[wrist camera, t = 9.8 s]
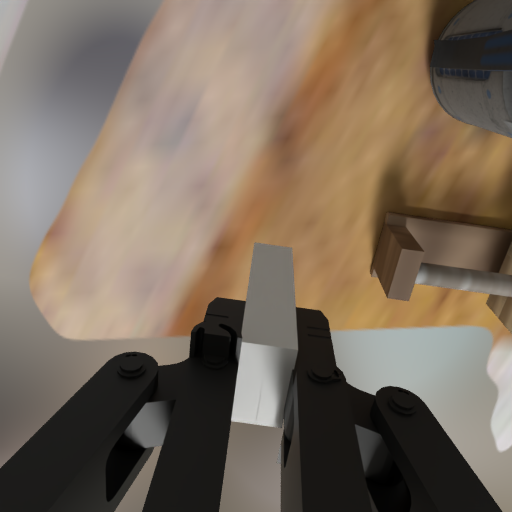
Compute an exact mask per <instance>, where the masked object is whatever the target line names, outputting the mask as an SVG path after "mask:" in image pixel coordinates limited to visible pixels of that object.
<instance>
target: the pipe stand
mask: <svg viewBox="0 0 512 512" xmlns="http://www.w3.org/2000/svg"><path fill="white" fill-rule="evenodd" d="M511 242H512V230H510V229H503V228H496V227H489V226H482V225H475V224H468V223H461V222H454V221H447V220H440V219H433V218H426V217H419V216H411V215H404V214H397V213H390V212H387V214H386V218H385V221H384V225H383V229H382V232H381V236H380V240H379V243H378V247H377V251H376V254H375V258H374V262H373V265H372V269H371V273H370V274H371V276H372V277H377V278H379V281H380V283H381V285H382V287H383V290H384V292H385V294H386V296H387V298H390V299H397V300H404V301H409V299H410V296H411V293H412V290H413V287H414V284H423V285H430V286H437V287H444V288H451V289H458V290H465V291H472V292H479V293H486V294H493V295H501V296H508V297H512V275H508V274H501V273H499V271H500V269H501V266H502V264H503V261H504V259H505V256H506V254H507V252H508V249H509V247H510V244H511Z"/></svg>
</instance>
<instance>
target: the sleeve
mask: <svg viewBox="0 0 512 512" xmlns="http://www.w3.org/2000/svg"><path fill="white" fill-rule="evenodd" d="M499 273H501V274H508V275H512V242H511V244H510V247H509V249H508V252H507V254H506V256H505V259H504V261H503V264H502V266H501V269H500V271H499ZM486 304H487V305H488V306H489V308H490V309H491V310H492V311H493V312H494V314H495V315H496V316H497V317H498V318H499V319H500V321H501V322H502V323H503V324H504V325H505V327H506V328H507V329H508V330H509V331H510V333H511V334H512V297H508V296H501V295H493V294H490V295H489V298H488V300H487V302H486Z"/></svg>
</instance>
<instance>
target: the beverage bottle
mask: <svg viewBox="0 0 512 512" xmlns="http://www.w3.org/2000/svg"><path fill="white" fill-rule="evenodd" d="M434 44H435V47H434V51H433V55H432V60H431V64H430V78H431V85H432V89H433V93H434V95H435V97H436V99H437V101H438V103H439V104H440V106H441V107H442V108H443V109H444V111H445V112H447V113H448V114H449V115H451V116H452V117H453V118H455V119H457V120H459V121H462V122H464V123H467V124H471V125H475V126H478V127H481V128H484V129H487V130H489V131H492V132H495V133H498V134H501V135H504V136H507V137H510V138H512V0H474V1H473V2H471V3H470V4H468V5H467V6H466V7H464V8H463V9H461V10H460V11H459V12H458V13H457V14H456V15H455V16H454V17H453V18H452V19H451V20H450V22H449V23H448V24H447V26H446V27H445V28H444V30H443V31H442V33H441V35H440V37H439V39H438V40H434Z"/></svg>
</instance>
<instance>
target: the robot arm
mask: <svg viewBox="0 0 512 512" xmlns="http://www.w3.org/2000/svg"><path fill="white" fill-rule="evenodd" d="M283 419H284V432H283V436H282V441H281V446H280V450H279V455H278V460H277V463H280V464H281V512H502V510H501V509H500V508H499V506H498V505H497V503H496V502H495V501H494V499H493V498H492V496H491V495H490V494H489V492H488V491H487V489H486V488H485V487H484V485H483V484H482V482H481V481H480V480H479V479H478V477H477V475H476V474H475V473H474V471H473V470H472V469H471V467H470V466H469V464H468V463H467V461H466V460H465V459H464V457H463V456H462V455H461V454H460V452H459V450H458V449H457V447H456V446H455V445H454V443H453V442H452V440H451V439H450V438H449V436H448V435H447V434H446V432H445V431H444V429H443V428H442V426H441V425H440V424H439V422H438V421H437V419H436V418H435V417H434V415H433V414H432V412H431V411H430V410H429V408H428V407H427V405H426V404H425V403H424V402H423V401H422V400H421V399H420V398H419V397H418V396H417V395H415V394H414V393H412V392H410V391H408V390H406V389H403V388H400V387H393V386H388V387H383V388H381V389H380V390H379V391H377V392H376V395H372V394H369V393H366V392H364V391H361V390H359V389H357V388H355V387H353V386H351V385H350V384H348V383H347V382H346V378H345V376H344V374H343V372H342V371H341V370H340V369H339V368H338V367H337V366H336V361H335V356H334V350H333V345H332V340H331V333H330V328H329V322H328V319H327V318H326V317H325V316H324V314H323V313H322V312H321V311H319V310H312V309H305V308H298V307H296V305H295V288H294V271H293V254H292V248H290V247H283V246H276V245H269V244H262V243H254V250H253V257H252V264H251V270H250V277H249V284H248V291H247V298H246V301H240V300H233V299H226V298H219V297H217V298H215V299H214V300H213V301H212V302H211V303H210V304H209V305H208V308H207V311H206V315H205V318H204V322H201V323H200V324H198V325H196V326H195V327H194V328H193V330H192V331H191V341H190V355H189V358H188V359H186V360H185V361H182V362H180V363H177V364H171V365H163V366H158V363H157V362H156V360H155V359H154V358H153V357H151V356H149V355H147V354H145V353H140V352H126V353H123V354H120V355H117V356H115V357H113V358H112V359H110V360H109V361H108V362H107V363H106V364H105V365H104V366H103V367H102V368H101V369H100V370H99V371H98V372H97V373H96V374H95V375H94V376H93V377H92V378H91V379H90V380H89V381H88V382H87V383H86V384H85V385H83V387H81V389H80V390H78V391H77V392H76V393H75V394H74V396H73V397H71V398H70V400H68V401H67V402H66V404H65V405H63V407H61V409H59V411H57V412H56V413H55V415H53V416H52V417H51V418H50V420H48V422H46V424H44V425H43V426H42V427H41V428H40V429H39V430H38V431H37V432H36V433H35V434H34V435H33V436H32V437H31V438H30V439H29V441H27V442H26V443H25V444H24V445H23V446H22V447H21V448H20V449H19V450H18V451H17V452H16V453H15V454H14V455H13V456H12V457H11V458H10V459H9V460H8V461H7V462H6V463H5V464H4V465H3V466H2V467H1V468H0V512H114V511H115V510H116V508H117V506H118V505H119V503H120V502H121V500H122V499H123V497H124V496H125V494H126V492H127V491H128V489H129V488H130V486H131V485H132V483H133V481H134V480H135V478H136V477H137V475H138V474H139V472H140V471H141V469H142V468H143V466H144V464H145V463H146V461H147V460H148V458H149V457H150V455H151V453H152V452H153V449H154V447H155V446H162V448H161V451H160V455H159V458H158V461H157V465H156V468H155V471H154V475H153V478H152V481H151V484H150V487H149V491H148V494H147V497H146V501H145V504H144V507H143V510H142V512H219V507H220V499H221V491H222V484H223V477H224V470H225V462H226V455H227V447H228V440H229V431H230V425H231V421H236V422H243V423H250V424H258V425H265V426H272V427H280V428H282V423H283Z"/></svg>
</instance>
